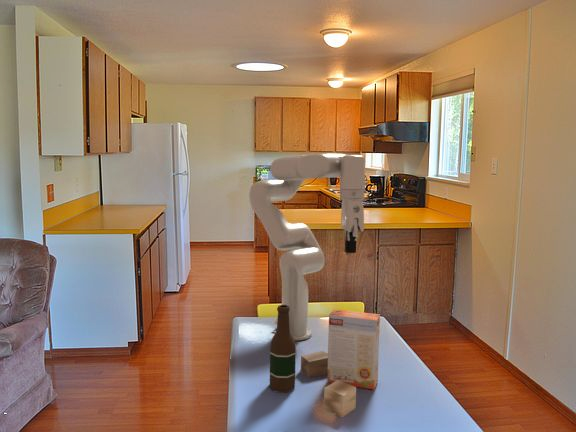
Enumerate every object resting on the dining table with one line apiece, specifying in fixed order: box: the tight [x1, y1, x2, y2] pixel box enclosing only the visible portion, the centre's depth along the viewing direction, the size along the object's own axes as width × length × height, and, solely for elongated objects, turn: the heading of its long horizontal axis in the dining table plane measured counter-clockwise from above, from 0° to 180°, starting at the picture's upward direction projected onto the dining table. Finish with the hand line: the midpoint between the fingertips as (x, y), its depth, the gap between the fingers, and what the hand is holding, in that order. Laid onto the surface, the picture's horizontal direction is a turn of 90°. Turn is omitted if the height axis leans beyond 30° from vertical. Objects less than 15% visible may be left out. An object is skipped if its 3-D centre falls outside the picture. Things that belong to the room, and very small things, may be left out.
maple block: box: [323, 380, 357, 418], centre depth 131 cm, size 6×6×6 cm
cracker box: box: [327, 308, 381, 391], centre depth 145 cm, size 14×6×21 cm, turn 70°
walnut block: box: [300, 350, 328, 378], centre depth 153 cm, size 5×8×5 cm, turn 117°
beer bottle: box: [269, 304, 297, 393], centre depth 141 cm, size 8×8×24 cm
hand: (350, 252), depth 158 cm, fingers closed
